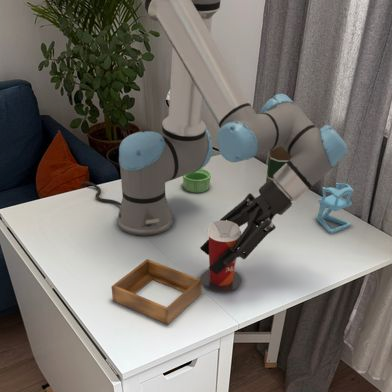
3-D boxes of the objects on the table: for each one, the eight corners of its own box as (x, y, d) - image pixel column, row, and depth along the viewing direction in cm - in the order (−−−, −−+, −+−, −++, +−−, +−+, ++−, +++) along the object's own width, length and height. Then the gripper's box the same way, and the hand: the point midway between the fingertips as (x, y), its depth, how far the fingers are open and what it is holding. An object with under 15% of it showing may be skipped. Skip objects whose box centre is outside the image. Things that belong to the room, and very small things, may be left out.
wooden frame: (112, 300, 118) (111, 286, 115) (147, 272, 126) (146, 258, 124) (168, 324, 112) (168, 310, 109) (201, 293, 120) (201, 279, 118)
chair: (329, 214, 150) (337, 175, 142) (350, 226, 145) (360, 186, 137) (310, 221, 147) (317, 181, 139) (330, 234, 142) (340, 193, 134)
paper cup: (237, 288, 121) (242, 236, 112) (205, 288, 121) (207, 236, 112) (236, 270, 127) (240, 219, 118) (205, 269, 127) (207, 218, 117)
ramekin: (204, 195, 157) (205, 182, 154) (177, 190, 159) (177, 177, 156) (214, 184, 163) (215, 170, 160) (188, 179, 166) (188, 165, 163)
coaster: (192, 283, 123) (192, 282, 123) (213, 264, 130) (213, 263, 129) (228, 297, 120) (228, 296, 119) (248, 277, 126) (248, 275, 125)
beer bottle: (272, 197, 157) (283, 116, 141) (260, 186, 163) (269, 107, 146) (294, 193, 160) (307, 112, 143) (281, 182, 165) (292, 104, 149)
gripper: (309, 223, 107) (230, 294, 115) (276, 180, 121) (208, 246, 129) (289, 201, 102) (208, 277, 110) (257, 160, 117) (188, 230, 125)
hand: (208, 261), depth 120 cm, fingers closed on paper cup, 8 cm apart
